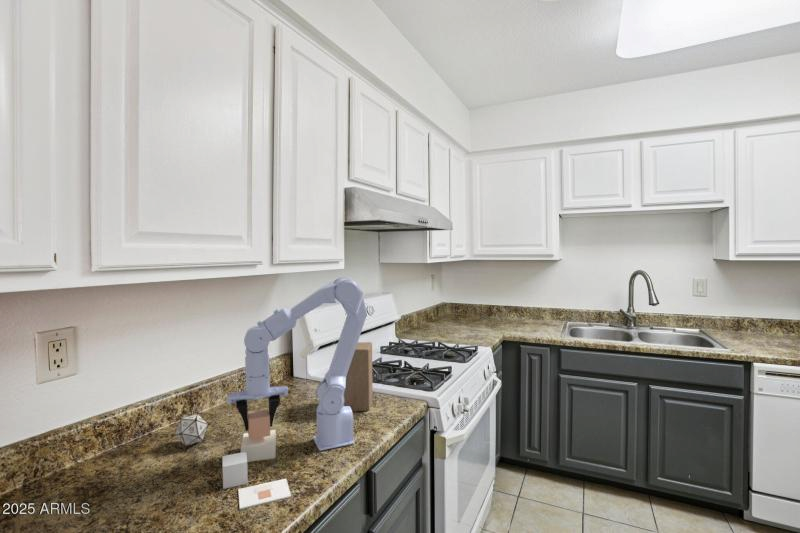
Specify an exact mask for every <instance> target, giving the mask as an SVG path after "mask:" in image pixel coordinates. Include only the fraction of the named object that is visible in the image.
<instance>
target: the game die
mask: <svg viewBox="0 0 800 533" xmlns="http://www.w3.org/2000/svg"><path fill="white" fill-rule="evenodd" d="M199 413H200V410H198V411H196V414H192V415H189V416H185V417H181V416H178V419H179V422H178V425H177V427H176V429H175V433H174V434H172V435H171V437H172V438H173V437H176V438H177V440H178V441H180V442H181V444H183V445H184V447H183V450H184V451H185V450H186V449H187V446H191V445H193V444H197V443H200V442H202V443H205V442H206V441H205V440H204V439H205V438H204V437H205V435H206V433H207V431H208V426H210V425H213V424H212V422H207V421H206V420H205V419H204V418H203V417H202V416H201V415H200V414H199Z"/></svg>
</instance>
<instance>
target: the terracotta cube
mask: <svg viewBox="0 0 800 533" xmlns="http://www.w3.org/2000/svg"><path fill="white" fill-rule="evenodd" d="M247 418H248V430H247V433H248V436H249V439H254V438H260V437H265V436H270V430H271V427H270V415H269V408H265V409H258V410H251V411H247Z"/></svg>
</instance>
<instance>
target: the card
mask: <svg viewBox="0 0 800 533" xmlns="http://www.w3.org/2000/svg"><path fill="white" fill-rule="evenodd" d="M289 498H292V494H291V490H290V486H289V484H288V480H287V478H282V479H278V480H277V479H276V480H273V481H269V482H264V483H261V484H260V483H259V484H256V485H250V486H247V487H242V488H238V504H239V510H244V509H247V508H252V507H256V506H260V505H264V504H267V503H272V502H277V501H281V500H285V499H289Z"/></svg>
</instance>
